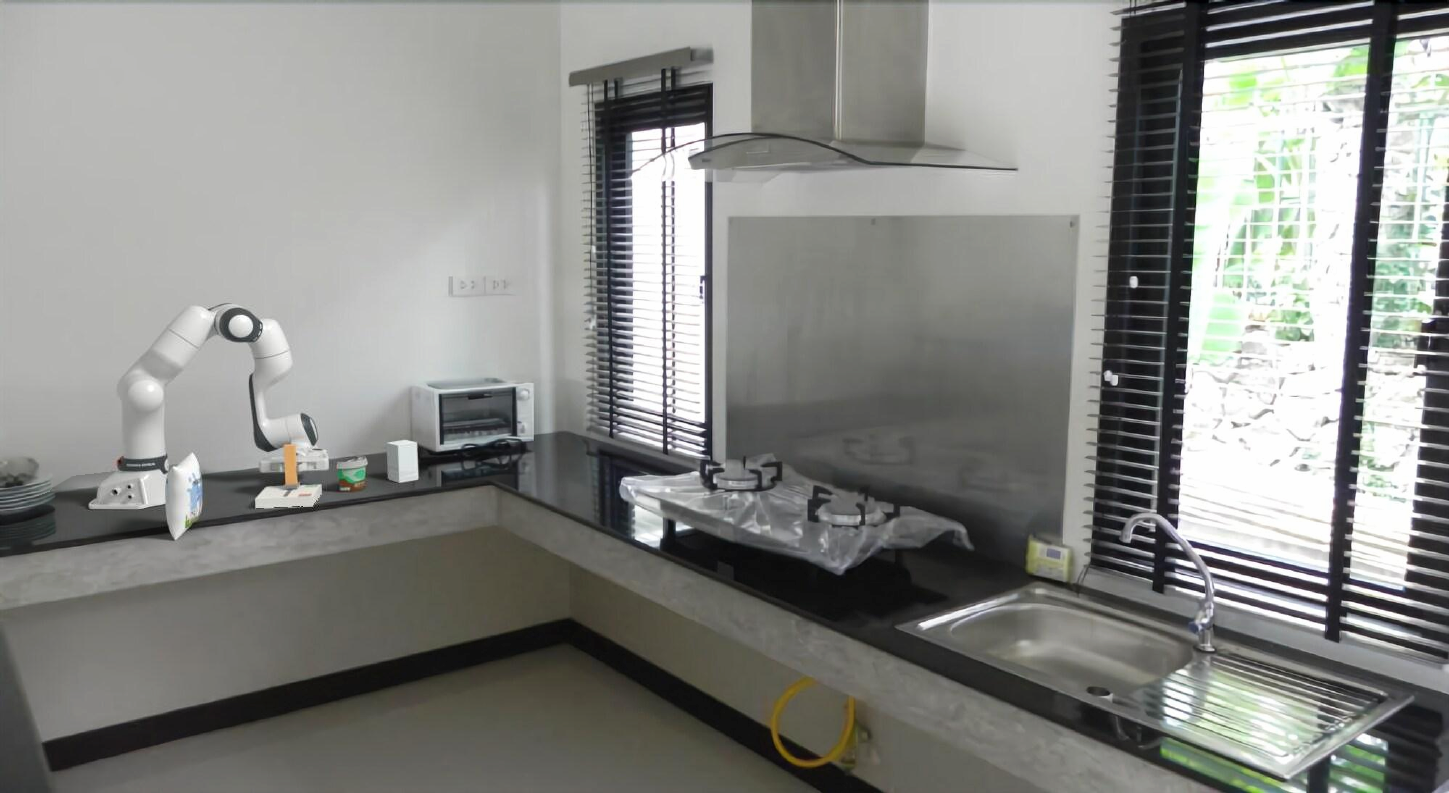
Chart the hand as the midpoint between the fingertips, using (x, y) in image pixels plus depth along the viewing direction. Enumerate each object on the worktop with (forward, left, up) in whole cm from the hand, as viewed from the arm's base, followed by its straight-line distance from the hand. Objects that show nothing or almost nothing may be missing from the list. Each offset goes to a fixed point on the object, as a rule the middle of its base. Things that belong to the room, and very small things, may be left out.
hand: (290, 469), depth 323 cm
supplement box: (+31, +20, -9) cm, 38 cm away
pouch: (-21, -34, -9) cm, 41 cm away
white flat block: (0, -4, -9) cm, 10 cm away
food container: (+18, +8, -9) cm, 22 cm away
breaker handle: (0, +1, -6) cm, 6 cm away
